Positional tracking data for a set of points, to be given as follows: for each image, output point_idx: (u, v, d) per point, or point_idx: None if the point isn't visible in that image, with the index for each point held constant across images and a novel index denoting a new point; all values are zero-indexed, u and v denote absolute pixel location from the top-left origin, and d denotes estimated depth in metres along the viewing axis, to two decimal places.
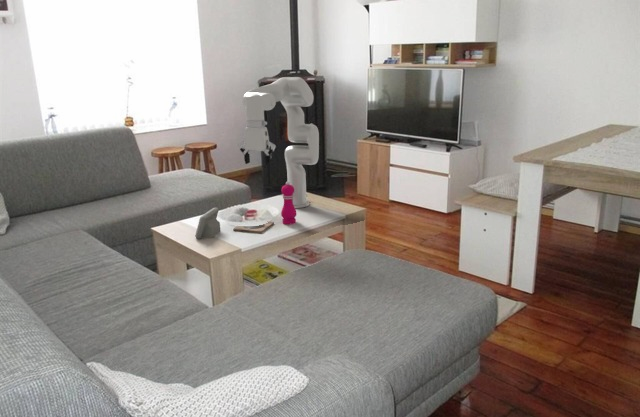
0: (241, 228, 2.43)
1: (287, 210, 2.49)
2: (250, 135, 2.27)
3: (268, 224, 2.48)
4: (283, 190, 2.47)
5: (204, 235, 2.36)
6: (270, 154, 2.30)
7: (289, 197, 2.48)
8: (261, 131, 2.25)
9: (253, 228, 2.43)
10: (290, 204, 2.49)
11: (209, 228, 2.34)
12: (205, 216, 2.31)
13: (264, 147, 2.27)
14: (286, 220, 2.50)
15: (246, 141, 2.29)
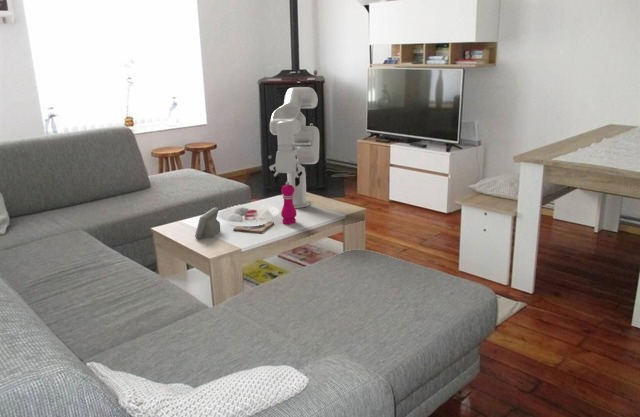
0: (241, 228, 2.43)
1: (287, 210, 2.49)
2: (281, 158, 2.43)
3: (268, 224, 2.48)
4: (283, 190, 2.47)
5: (204, 235, 2.36)
6: (299, 176, 2.45)
7: (289, 197, 2.48)
8: (292, 155, 2.41)
9: (253, 228, 2.43)
10: (290, 204, 2.49)
11: (209, 228, 2.34)
12: (205, 216, 2.31)
13: (294, 170, 2.43)
14: (286, 220, 2.50)
15: (277, 164, 2.44)
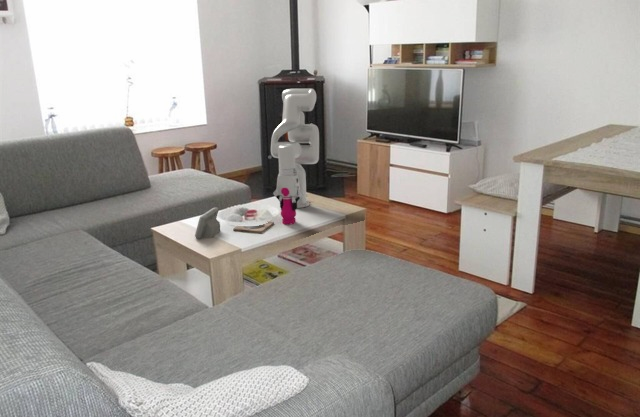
0: (241, 228, 2.43)
1: (287, 210, 2.49)
2: (282, 182, 2.46)
3: (268, 224, 2.48)
4: (282, 190, 2.47)
5: (204, 235, 2.36)
6: (296, 201, 2.50)
7: (288, 197, 2.48)
8: (293, 179, 2.44)
9: (253, 228, 2.43)
10: (289, 204, 2.49)
11: (209, 228, 2.34)
12: (205, 216, 2.31)
13: (295, 193, 2.46)
14: (286, 220, 2.50)
15: (278, 187, 2.48)
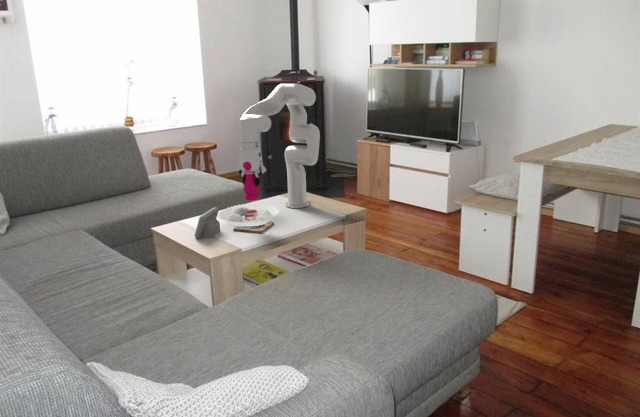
0: (241, 228, 2.43)
1: (249, 186, 2.39)
2: (244, 155, 2.36)
3: (268, 224, 2.48)
4: (244, 164, 2.37)
5: (203, 235, 2.36)
6: (259, 176, 2.40)
7: (251, 172, 2.38)
8: (254, 152, 2.35)
9: (253, 228, 2.43)
10: (251, 179, 2.39)
11: (208, 228, 2.35)
12: (204, 216, 2.32)
13: (257, 167, 2.36)
14: (248, 196, 2.41)
15: (240, 161, 2.38)
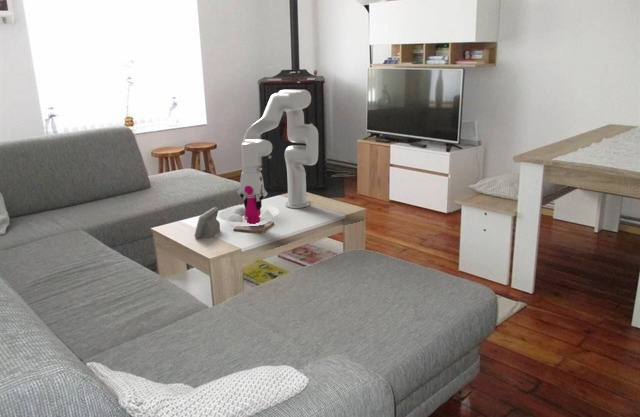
0: (241, 228, 2.43)
1: (250, 209, 2.42)
2: (246, 180, 2.39)
3: (268, 224, 2.48)
4: (246, 188, 2.40)
5: (203, 235, 2.36)
6: None
7: (252, 196, 2.41)
8: (256, 177, 2.38)
9: (253, 228, 2.43)
10: (253, 203, 2.42)
11: (208, 228, 2.35)
12: (204, 216, 2.32)
13: (259, 191, 2.40)
14: (250, 219, 2.44)
15: (242, 185, 2.41)
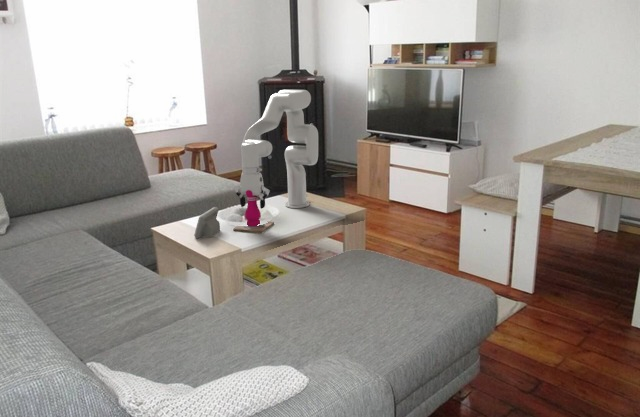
0: (241, 228, 2.43)
1: (251, 212, 2.43)
2: (246, 180, 2.39)
3: (268, 224, 2.48)
4: (246, 191, 2.41)
5: (203, 234, 2.36)
6: (264, 198, 2.42)
7: (252, 198, 2.42)
8: (256, 177, 2.38)
9: (253, 228, 2.43)
10: (253, 206, 2.43)
11: (208, 228, 2.35)
12: (204, 216, 2.32)
13: (259, 192, 2.40)
14: (250, 222, 2.45)
15: (242, 186, 2.41)
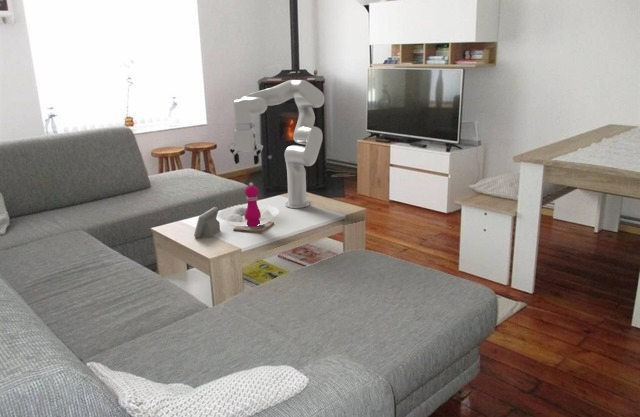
0: (241, 228, 2.43)
1: (251, 212, 2.43)
2: (239, 137, 2.44)
3: (268, 224, 2.48)
4: (246, 191, 2.41)
5: (203, 234, 2.37)
6: (258, 154, 2.48)
7: (252, 198, 2.42)
8: (249, 133, 2.43)
9: (253, 228, 2.43)
10: (253, 206, 2.43)
11: (208, 227, 2.35)
12: (204, 216, 2.32)
13: (252, 148, 2.45)
14: (250, 222, 2.45)
15: (235, 142, 2.46)
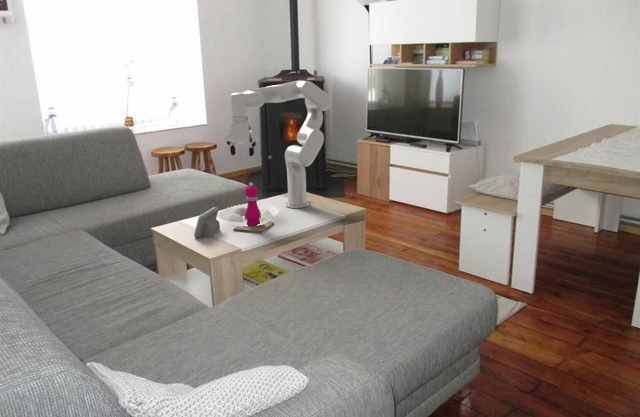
0: (241, 228, 2.43)
1: (251, 212, 2.43)
2: (235, 129, 2.52)
3: (268, 224, 2.48)
4: (246, 191, 2.41)
5: (203, 234, 2.37)
6: (253, 146, 2.55)
7: (252, 198, 2.42)
8: (245, 126, 2.50)
9: (253, 228, 2.43)
10: (253, 206, 2.43)
11: (208, 227, 2.35)
12: (204, 215, 2.32)
13: (248, 140, 2.52)
14: (250, 222, 2.45)
15: (231, 134, 2.54)
